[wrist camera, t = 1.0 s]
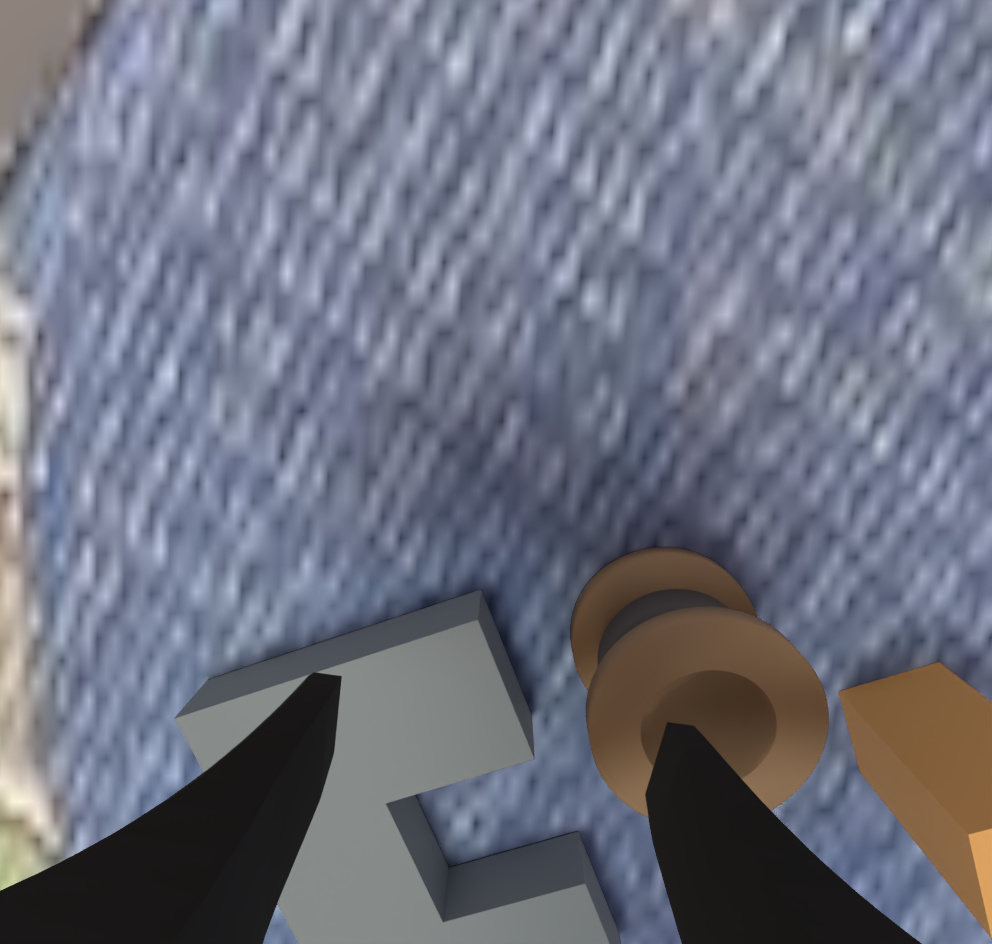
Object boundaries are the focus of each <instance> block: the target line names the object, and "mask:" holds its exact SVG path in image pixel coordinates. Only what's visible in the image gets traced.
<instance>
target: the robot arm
mask: <svg viewBox="0 0 992 944" xmlns="http://www.w3.org/2000/svg"><path fill="white" fill-rule="evenodd" d="M341 680H342V676H338V675H330V674H323V673H316V672H313V673H312V674H310V675H309V676H308V677H307V678H306V679H305V680H304V681H303V682H302V683H301V684H300V685H299V686H298V687H297V688H296V690H295V691H294V692H293V693H292V694H291V695H290V696H289V697H288V698H287V699H286V700H285V701H284V702H283V703H282V704H281V705H280V706H279V707H278V708H277V709H276V710H275V711H274V712H273V713H272V714H271V715H270V716H269V717H267V718H266V719H265V720H264V721H263V722H262V723H261V724H260V725H259V726H258V727H257V728H256V729H255V730H254V731H252V732H251V733H250V734H249V735H248V736H247V737H246V738H245V739H244V740H242V741H241V742H240V743H239V744H238V745H237V746H235V747H234V748H233V749H232V750H231V751H229V752H228V753H227V754H226V755H225V756H223V757H222V758H221V759H220V760H219V761H217V762H216V763H215V764H214V765H213V766H211V767H210V768H209V769H208V770H206V771H205V772H204V773H202V774H201V775H200V776H198V777H197V778H196V779H194V780H193V781H192V782H190V783H189V784H188V785H186V786H185V787H184V788H182V789H181V790H179V791H178V792H177V793H175V794H174V795H172V796H171V797H170V798H168V799H167V800H165V801H164V802H162V803H161V804H159V805H158V806H156V807H154V808H153V809H151V810H150V811H148V812H147V813H145V814H144V815H142V816H141V817H139V818H138V819H136V820H135V821H133V822H131V823H130V824H128V825H126V826H125V827H123V828H122V829H120V830H118V831H117V832H115V833H113V834H112V835H110V836H108V837H106V838H104V839H103V840H101V841H99V842H97V843H95V844H94V845H92V846H90V847H88V848H86V849H85V850H83V851H81V852H79V853H77V854H75V855H73V856H71V857H70V858H68V859H66V860H64V861H62V862H60V863H58V864H56V865H54V866H52V867H50V868H48V869H46V870H44V871H42V872H40V873H38V874H36V875H34V876H31V877H29V878H27V879H25V880H23V881H21V882H18V883H16V884H14V885H12V886H10V887H7V888H5V889H3V890H1V891H0V944H263V940H264V937H265V934H266V932H267V929H268V926H269V924H270V921H271V918H272V916H273V913H274V910H275V908H276V905H277V903H278V901H279V898H280V896H281V893H282V891H283V889H284V886H285V884H286V881H287V879H288V877H289V874H290V872H291V869H292V867H293V865H294V862H295V860H296V857H297V855H298V853H299V850H300V848H301V845H302V843H303V841H304V838H305V836H306V833H307V831H308V828H309V826H310V824H311V821H312V819H313V816H314V814H315V811H316V809H317V806H318V804H319V802H320V799H321V796H322V792H323V789H324V786H325V782H326V779H327V776H328V772H329V769H330V765H331V762H332V758H333V755H334V750H335V740H336V730H337V720H338V710H339V700H340V690H341ZM645 797H646V803H647V810H648V817H649V823H650V829H651V834H652V840H653V845H654V848H655V852H656V856H657V859H658V863H659V866H660V870H661V873H662V877H663V880H664V884H665V887H666V891H667V894H668V898H669V901H670V904H671V908H672V911H673V915H674V918H675V922H676V925H677V928H678V932H679V935H680V939H681V942H682V944H921V943H920V942H919V941H917V940H916V939H915V938H913V937H912V936H911V935H909V934H908V933H907V932H905V931H904V930H903V929H902V928H900V927H899V926H898V925H897V924H895V923H894V922H893V921H892V920H890V919H889V918H888V917H886V916H885V915H884V914H883V913H881V912H880V911H879V910H878V909H876V908H875V907H874V906H873V905H871V904H870V903H869V902H868V901H867V900H865V899H864V898H863V897H862V896H861V895H859V894H858V893H857V892H856V891H855V890H853V889H852V888H851V887H850V886H849V885H848V884H847V883H846V882H844V881H843V880H842V879H841V878H840V877H839V876H838V875H837V874H835V873H834V872H833V871H832V870H831V869H830V868H829V867H828V866H826V865H825V864H824V863H823V862H822V861H821V860H820V859H819V858H818V857H817V856H816V855H815V854H813V853H812V852H811V851H810V850H809V849H808V848H807V847H806V846H805V845H804V844H803V843H802V842H801V841H800V840H799V839H798V838H797V837H796V836H795V835H794V834H793V833H792V832H791V831H790V830H789V829H788V828H787V827H786V826H785V825H784V824H783V823H782V822H781V821H780V820H779V819H778V818H777V817H776V816H775V815H774V814H773V812H772V811H771V810H770V809H769V808H768V807H767V806H766V805H765V804H764V803H763V802H762V801H761V800H760V799H759V798H758V796H757V795H756V794H755V793H754V792H753V791H752V790H751V789H750V788H749V787H748V785H747V784H746V783H745V782H744V781H743V780H742V779H741V778H740V777H739V775H738V774H737V773H736V772H735V771H734V770H733V769H732V767H731V766H730V765H729V764H728V763H727V762H726V761H725V760H724V758H723V757H722V756H721V755H720V754H719V753H718V752H717V750H716V749H715V748H714V747H713V746H712V745H711V744H710V742H709V741H708V740H707V739H706V738H705V737H704V736H703V735H702V734H701V732H700V731H699V730H698V729H697V728H696V727H695V726H693V725H686V724H679V723H671V722H667V724H666V727H665V731H664V734H663V737H662V740H661V744H660V747H659V750H658V754H657V757H656V760H655V763H654V767H653V770H652V773H651V777H650V780H649V783H648V786H647V790H646V793H645Z"/></svg>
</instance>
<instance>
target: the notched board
mask: <svg viewBox="0 0 992 944" xmlns="http://www.w3.org/2000/svg"><path fill="white" fill-rule="evenodd" d="M313 672H316V673H323V674H330V675H338V676H342V680H341V690H340V700H339V710H338V720H337V730H336V740H335V750H334V755H333V758H332V762H331V765H330V769H329V772H328V776H327V779H326V782H325V786H324V789H323V792H322V796H321V799H320V802H319V804H318V806H317V809H316V811H315V814H314V816H313V819H312V821H311V824H310V826H309V828H308V831H307V833H306V836H305V838H304V841H303V843H302V845H301V848H300V850H299V853H298V855H297V857H296V860H295V862H294V865H293V867H292V869H291V872H290V874H289V877H288V879H287V881H286V884H285V886H284V889H283V891H282V893H281V896H280V898H279V901H278V903H277V905H278V907H279V908H280V910H281V912H282V914H283V916H284V917H285V919H286V921H287V923H288V925H289V926H290V928H291V930H292V932H293V934H294V935H295V937H296V939H297V941H298V943H299V944H621V939H620V935H619V932H618V930H617V927H616V925H615V922H614V920H613V917H612V915H611V912H610V910H609V907H608V905H607V902H606V900H605V897H604V895H603V892H602V890H601V887H600V885H599V882H598V880H597V877H596V875H595V872H594V870H593V867H592V865H591V862H590V860H589V857H588V855H587V852H586V850H585V847H584V845H583V842H582V840H581V837H580V835H579V832H574V833H570V834H567V835H563V836H560V837H556V838H553V839H549V840H546V841H542V842H539V843H535V844H531V845H528V846H524V847H521V848H517V849H514V850H510V851H507V852H503V853H500V854H496V855H492V856H489V857H485V858H482V859H478V860H475V861H471V862H468V863H464V864H461V865H457V866H453V867H450V868H449V866H448V864H447V862H446V860H445V858H444V856H443V854H442V851H441V849H440V847H439V845H438V843H437V841H436V839H435V836H434V834H433V832H432V830H431V828H430V826H429V824H428V821H427V819H426V817H425V815H424V813H423V811H422V809H421V806H420V804H419V802H418V800H417V798H416V796H415V795H416V794H419V793H423V792H426V791H429V790H433V789H436V788H440V787H443V786H446V785H450V784H453V783H456V782H460V781H463V780H466V779H470V778H473V777H477V776H480V775H483V774H487V773H490V772H493V771H497V770H500V769H503V768H507V767H510V766H513V765H517V764H520V763H524V762H527V761H530V760H534V741H533V724H532V715H531V713H530V710H529V708H528V705H527V703H526V700H525V698H524V695H523V693H522V690H521V688H520V685H519V683H518V680H517V678H516V675H515V673H514V670H513V668H512V665H511V663H510V660H509V658H508V655H507V653H506V650H505V648H504V645H503V643H502V640H501V638H500V635H499V633H498V630H497V628H496V625H495V623H494V620H493V618H492V615H491V613H490V610H489V608H488V605H487V603H486V600H485V598H484V595H483V593H482V590H481V589H480V590H477V591H474V592H471V593H468V594H465V595H462V596H459V597H456V598H453V599H450V600H447V601H444V602H441V603H438V604H435V605H432V606H429V607H426V608H423V609H420V610H417V611H414V612H411V613H408V614H405V615H402V616H399V617H396V618H393V619H390V620H387V621H384V622H381V623H378V624H375V625H372V626H369V627H366V628H363V629H360V630H357V631H354V632H351V633H348V634H345V635H342V636H339V637H336V638H333V639H330V640H327V641H324V642H321V643H317V644H314V645H311V646H308V647H305V648H302V649H299V650H296V651H293V652H290V653H287V654H284V655H281V656H278V657H275V658H272V659H269V660H266V661H263V662H260V663H257V664H254V665H251V666H248V667H245V668H242V669H239V670H236V671H233V672H230V673H227V674H224V675H221V676H218V677H215V678H212V679H209V680H207V681H206V682H205V684H204V685H203V686H202V687H201V688H200V689H199V690H198V692H197V693H196V694H195V695H194V696H193V697H192V699H191V700H190V701H189V702H188V703H187V704H186V706H185V707H184V708H183V709H182V710H181V711H180V713H179V714H178V715H177V716H176V717H175V718H174V719H175V721H176V723H177V724H178V726H179V728H180V730H181V732H182V733H183V735H184V737H185V739H186V741H187V742H188V744H189V746H190V748H191V750H192V751H193V753H194V755H195V757H196V759H197V761H198V762H199V764H200V766H201V768H202V770H203V771H204V772H205V771H206V770H208V769H209V768H210V767H211V766H213V765H214V764H215V763H216V762H217V761H219V760H220V759H221V758H222V757H223V756H225V755H226V754H227V753H228V752H229V751H231V750H232V749H233V748H234V747H235V746H237V745H238V744H239V743H240V742H241V741H242V740H244V739H245V738H246V737H247V736H248V735H249V734H250V733H251V732H252V731H254V730H255V729H256V728H257V727H258V726H259V725H260V724H261V723H262V722H263V721H264V720H265V719H266V718H267V717H269V716H270V715H271V714H272V713H273V712H274V711H275V710H276V709H277V708H278V707H279V706H280V705H281V704H282V703H283V702H284V701H285V700H286V699H287V698H288V697H289V696H290V695H291V694H292V693H293V692H294V691H295V690H296V688H297V687H298V686H299V685H300V684H301V683H302V682H303V681H304V680H305V679H306V678H307V677H308V676H309V675H310V674H312V673H313Z"/></svg>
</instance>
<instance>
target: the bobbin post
mask: <svg viewBox="0 0 992 944" xmlns="http://www.w3.org/2000/svg"><path fill="white" fill-rule="evenodd" d="M570 639H571V646H572V652H573V657H574V662H575V665H576V668H577V672H578V674H579V676H580V678H581V680H582V682H583V684H584V685H585V687H586V688H587V690H588V694H587V700H586V722H587V729H588V735H589V740H590V745H591V750H592V754H593V757H594V761H595V764H596V766H597V768H598V770H599V772H600V774H601V776H602V778H603V779H604V781H605V782H606V784H607V785H608V787H609V788H610V789H611V790H612V791H613V792H614V793H615V795H616V796H617V797H618V798H619V799H621V800H622V801H623V802H624V803H625V804H626V805H628V806H629V807H631V808H632V809H634V810H635V811H637V812H638V813H640V814H642V815H644V816H646V817H648V810H647V803H646V797H645V793H646V790H647V786H648V783H649V780H650V777H651V773H652V770H653V767H654V763H655V760H656V757H657V754H658V750H659V747H660V744H661V740H662V737H663V734H664V731H665V727H666V724H667V722H671V723H679V724H686V725H693V726H695V727H696V728H697V729H698V730H699V731H700V732H701V734H702V735H703V736H704V737H705V738H706V739H707V740H708V741H709V742H710V744H711V745H712V746H713V747H714V748H715V749H716V750H717V752H718V753H719V754H720V755H721V756H722V757H723V758H724V760H725V761H726V762H727V763H728V764H729V765H730V766H731V767H732V769H733V770H734V771H735V772H736V773H737V774H738V775H739V777H740V778H741V779H742V780H743V781H744V782H745V783H746V784H747V785H748V787H749V788H750V789H751V790H752V791H753V792H754V793H755V794H756V795H757V796H758V798H759V799H760V800H761V801H762V802H763V803H764V804H765V805H766V806H767V807H768V808H769V809H770V810H772V809H774V808H775V807H777V806H779V805H780V804H782V803H783V802H784V801H785V800H787V799H788V798H789V797H791V796H792V795H793V794H794V793H795V792H796V791H797V790H798V789H799V788H800V787H801V786H802V785H803V784H804V782H805V781H806V780H807V779H808V777H809V776H810V775H811V773H812V772H813V770H814V768H815V767H816V765H817V763H818V761H819V759H820V757H821V754H822V752H823V750H824V746H825V743H826V739H827V734H828V725H829V713H828V705H827V699H826V695H825V692H824V689H823V687H822V684H821V682H820V680H819V678H818V676H817V674H816V673H815V671H814V669H813V668H812V667H811V666H810V664H809V663H808V662H807V660H806V659H805V658H804V657H803V656H802V655H801V653H800V652H799V651H798V650H797V649H796V648H795V647H794V646H793V645H792V643H791V642H790V641H789V640H788V639H787V638H786V637H785V636H784V635H783V634H781V633H780V632H779V631H778V630H776V629H775V628H774V627H772V626H771V625H770V624H768V623H766V622H764V621H762V620H761V619H759V618H757V615H756V613H755V610H754V607H753V605H752V603H751V601H750V599H749V598H748V596H747V594H746V593H745V592H744V590H743V589H742V588H741V587H740V585H739V584H738V583H737V582H736V581H735V580H734V579H733V578H732V576H731V575H730V574H729V573H728V572H727V571H726V570H725V569H724V568H722V567H721V566H720V565H718V564H717V563H716V562H714V561H713V560H711V559H709V558H707V557H705V556H704V555H701V554H698V553H696V552H693V551H690V550H685V549H681V548H673V547H655V548H647V549H642V550H638V551H635V552H632V553H629V554H626V555H624V556H621V557H620V558H618V559H616V560H614V561H612V562H611V563H609V564H608V565H606V566H605V567H604V568H602V569H601V570H600V571H599V572H598V573H597V574H596V575H595V576H593V577H592V579H591V580H590V581H589V582H588V583H587V585H586V586H585V587H584V589H583V591H582V592H581V594H580V595H579V598H578V600H577V602H576V604H575V607H574V610H573V613H572V618H571V625H570ZM648 818H649V817H648Z"/></svg>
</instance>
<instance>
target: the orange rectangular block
mask: <svg viewBox="0 0 992 944" xmlns="http://www.w3.org/2000/svg"><path fill="white" fill-rule="evenodd" d="M838 692H839V696H840V699H841V703H842V707H843V711H844V714H845V718H846V722H847V726H848V729H849V733H850V737H851V741H852V744H853V748H854V752H855V756H856V759H857V763H858V767H859V771H860V773H861V774H862V775H863V777H864V778H865V779H866V780H867V782H868V783H869V784H870V785H871V787H872V788H873V789H874V790H875V792H876V793H877V794H878V796H879V797H880V798H881V799H882V801H883V802H884V803H885V804H886V806H887V807H888V808H889V809H890V811H891V812H892V813H893V814H894V816H895V817H896V818H897V820H898V821H899V822H900V823H901V825H902V826H903V827H904V828H905V830H906V831H907V832H908V833H909V835H910V836H911V837H912V839H913V840H914V841H915V842H916V844H917V845H918V846H919V847H920V849H921V850H922V851H923V852H924V854H925V855H926V856H927V857H928V859H929V860H930V861H931V863H932V864H933V865H934V866H935V868H936V869H937V870H938V871H939V873H940V874H941V875H942V876H943V878H944V879H945V880H946V882H947V883H948V884H949V885H950V887H951V888H952V889H953V890H954V892H955V893H956V894H957V895H958V897H959V898H960V899H961V901H962V902H963V903H964V904H965V906H966V907H967V908H968V909H969V911H970V912H971V913H972V914H973V916H974V917H975V918H976V919H977V921H978V922H979V923H980V925H981V926H982V927H983V928H984V930H985V931H986V932H987V933H988V935H989V936H990V937H991V938H992V702H990V701H989V700H988V699H986V698H985V697H984V696H982V695H981V694H980V693H979V692H977V691H976V690H975V689H973V688H972V687H971V686H970V685H968V684H967V683H966V682H964V681H963V680H962V679H961V678H959V677H958V676H957V675H955V674H954V673H953V672H951V671H950V670H949V669H948V668H946V667H945V666H944V665H942V664H941V663H940V662H937V663H934V664H930V665H927V666H924V667H920V668H917V669H913V670H910V671H907V672H903V673H900V674H896V675H893V676H890V677H886V678H883V679H879V680H876V681H873V682H869V683H866V684H862V685H859V686H856V687H852V688H849V689H845V690H842V691H838Z"/></svg>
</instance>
